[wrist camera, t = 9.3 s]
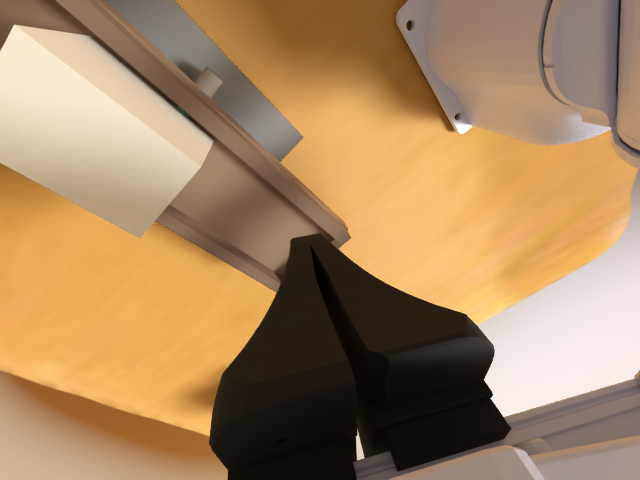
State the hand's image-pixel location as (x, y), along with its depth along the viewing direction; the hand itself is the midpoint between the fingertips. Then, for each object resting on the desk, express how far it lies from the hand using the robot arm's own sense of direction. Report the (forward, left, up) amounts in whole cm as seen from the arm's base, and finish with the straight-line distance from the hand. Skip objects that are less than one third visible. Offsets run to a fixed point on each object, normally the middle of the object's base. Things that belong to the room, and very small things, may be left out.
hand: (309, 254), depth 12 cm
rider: (+8, +3, -7) cm, 11 cm away
